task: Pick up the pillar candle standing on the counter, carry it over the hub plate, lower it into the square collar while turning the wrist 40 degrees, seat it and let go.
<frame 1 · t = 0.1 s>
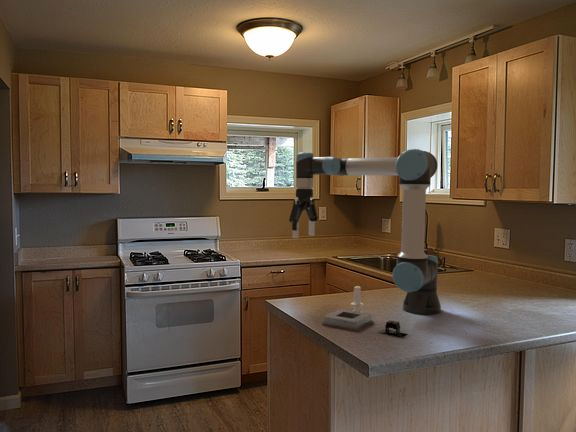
hand: (303, 236, 218), 28 cm above the countertop, fingers open, 13 cm apart
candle: (356, 316, 194), on the countertop
hub: (347, 323, 183), on the countertop
black bracket mount: (392, 335, 172), on the countertop
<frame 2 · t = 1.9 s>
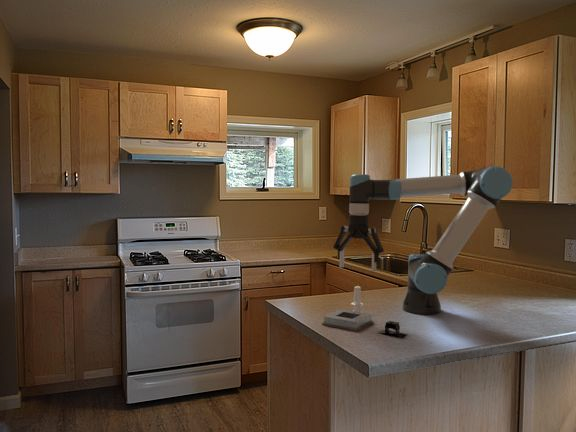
hand: (357, 269, 193), 18 cm above the countertop, fingers open, 13 cm apart
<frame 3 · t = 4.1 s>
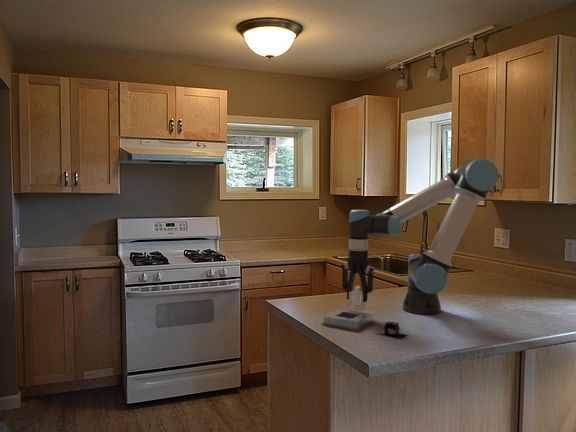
hand: (356, 308, 194), 3 cm above the countertop, fingers closed on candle, 4 cm apart
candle: (356, 316, 194), on the countertop, touching gripper
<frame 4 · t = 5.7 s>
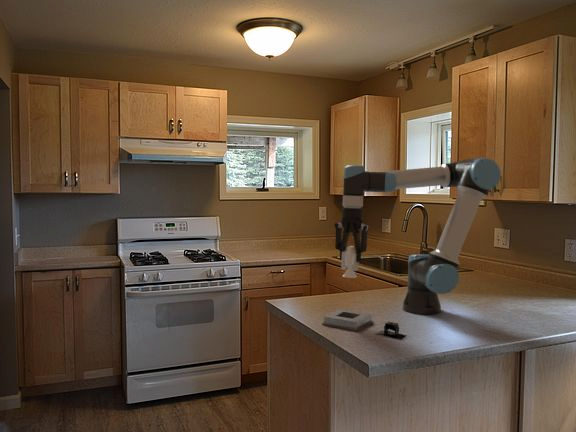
hand: (349, 269, 186), 19 cm above the countertop, fingers closed on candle, 4 cm apart
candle: (349, 277, 186), point 17 cm above the countertop, touching gripper
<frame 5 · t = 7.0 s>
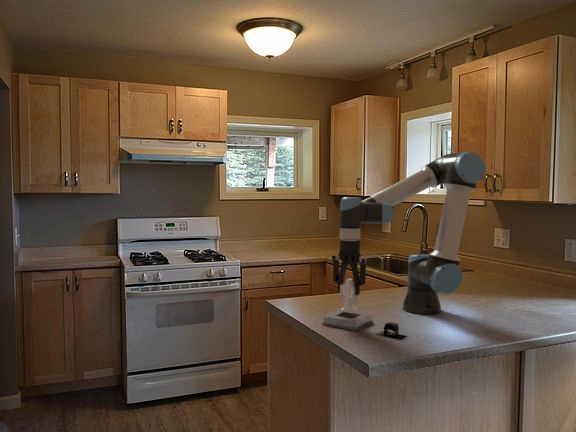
hand: (348, 302, 183), 8 cm above the countertop, fingers closed on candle, 4 cm apart
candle: (348, 310, 183), point 5 cm above the countertop, touching gripper
when the fingers open (5 cm above the countertop, at t = 7.8 s): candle drops 2 cm, resting on hub.
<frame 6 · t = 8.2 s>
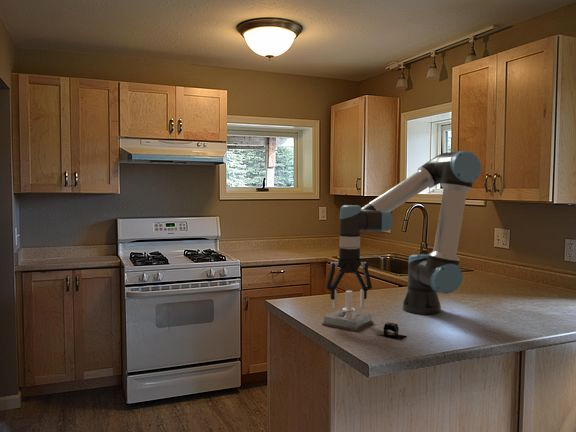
hand: (348, 308, 183), 6 cm above the countertop, fingers open, 9 cm apart
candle: (348, 322, 183), resting on hub
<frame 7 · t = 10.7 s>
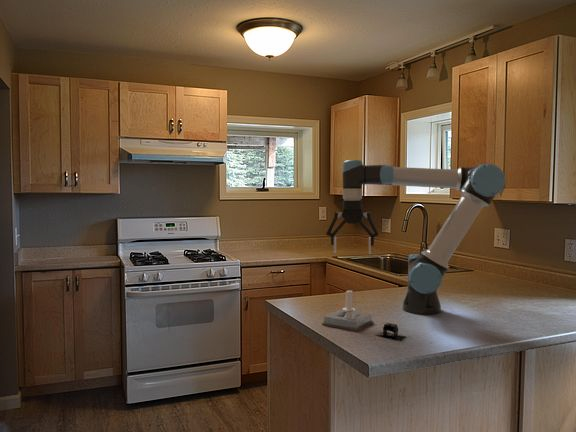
hand: (352, 253, 196), 24 cm above the countertop, fingers open, 13 cm apart
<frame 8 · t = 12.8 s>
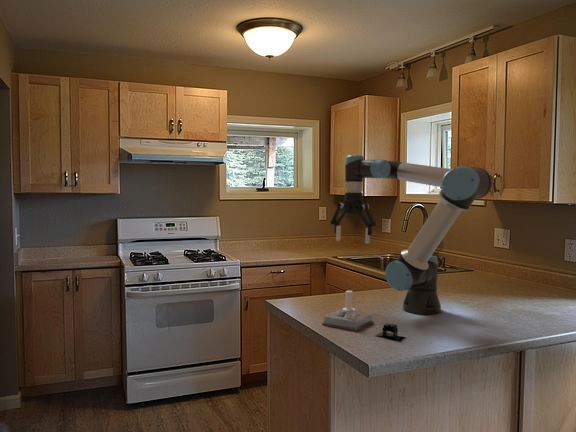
hand: (352, 242, 211), 27 cm above the countertop, fingers open, 13 cm apart
at the end: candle 0.1 cm off-centre on the hub, point 0.4 cm above the hub's base; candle tilted 0°; the gripper is holding nothing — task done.
